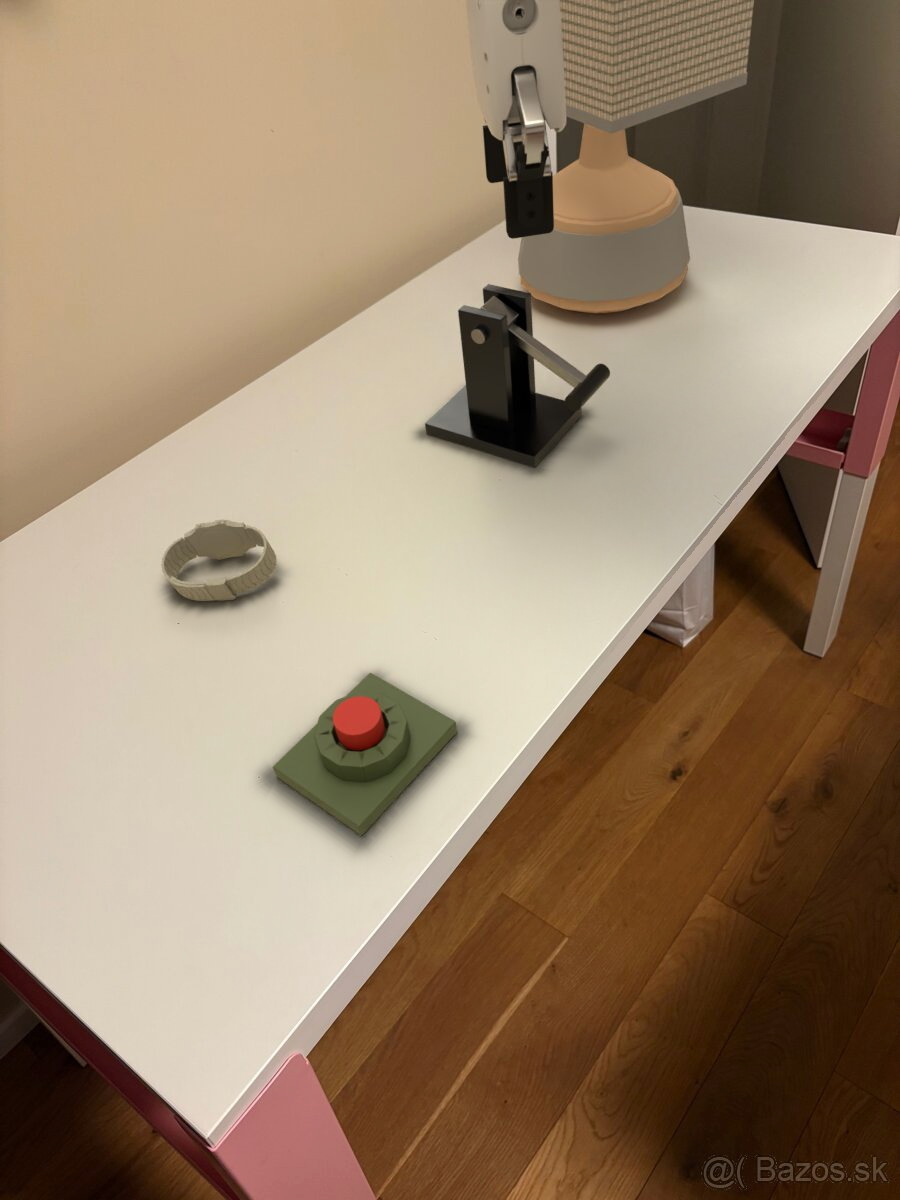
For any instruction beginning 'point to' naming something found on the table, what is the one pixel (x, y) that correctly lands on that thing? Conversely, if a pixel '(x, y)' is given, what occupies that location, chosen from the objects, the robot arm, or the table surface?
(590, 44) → the desk lamp
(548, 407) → the bracket
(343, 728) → the button
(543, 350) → the lever
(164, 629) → the table surface
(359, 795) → the button box
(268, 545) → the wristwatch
